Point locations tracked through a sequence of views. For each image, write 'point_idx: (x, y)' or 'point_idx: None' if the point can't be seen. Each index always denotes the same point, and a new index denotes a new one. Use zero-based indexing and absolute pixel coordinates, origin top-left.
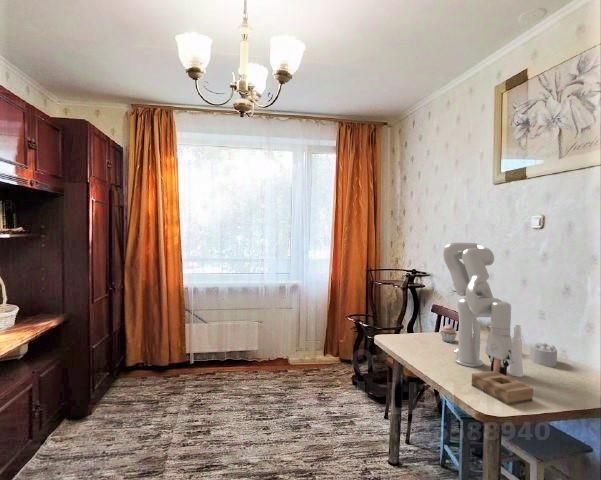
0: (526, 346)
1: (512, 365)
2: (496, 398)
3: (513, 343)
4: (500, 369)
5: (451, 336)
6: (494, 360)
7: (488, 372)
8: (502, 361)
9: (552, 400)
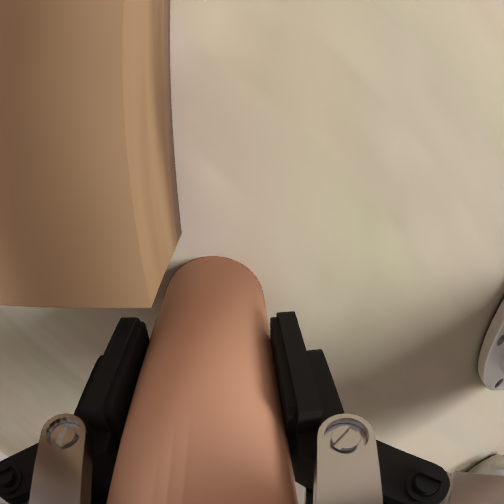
0: None
1: (301, 499)
2: None
3: None
4: (100, 376)
5: None
6: (220, 483)
7: (88, 123)
8: (39, 497)
9: None
